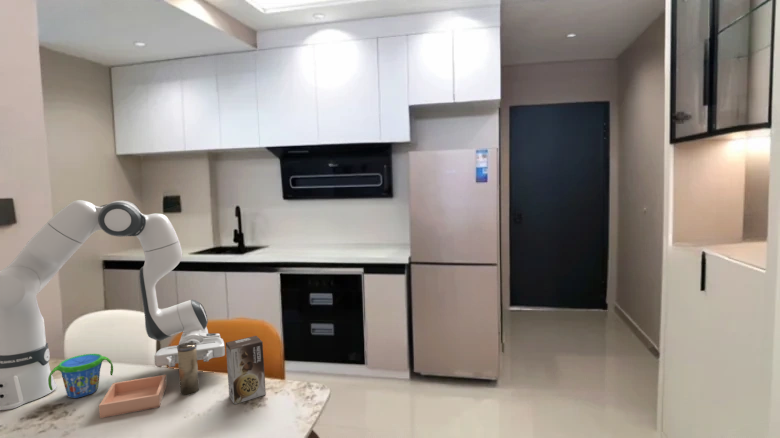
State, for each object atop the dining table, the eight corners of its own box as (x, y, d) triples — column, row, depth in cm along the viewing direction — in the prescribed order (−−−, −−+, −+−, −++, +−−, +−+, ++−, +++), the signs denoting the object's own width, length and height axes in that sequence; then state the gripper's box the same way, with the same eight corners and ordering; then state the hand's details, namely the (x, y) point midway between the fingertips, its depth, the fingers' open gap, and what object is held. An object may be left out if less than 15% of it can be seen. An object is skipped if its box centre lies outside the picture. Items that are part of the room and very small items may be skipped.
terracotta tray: (99, 418, 110) (98, 405, 110) (113, 394, 123) (113, 383, 123) (159, 407, 115) (158, 394, 115) (166, 385, 128) (166, 374, 128)
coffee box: (259, 386, 126) (257, 334, 125) (266, 395, 120) (263, 341, 119) (228, 396, 121) (225, 341, 119) (233, 405, 115) (230, 348, 114)
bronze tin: (179, 396, 121) (176, 350, 120) (181, 388, 126) (178, 343, 125) (198, 393, 123) (195, 347, 122) (199, 385, 128) (197, 341, 127)
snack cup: (114, 379, 133) (112, 348, 133) (114, 392, 125) (111, 359, 124) (52, 393, 125) (49, 360, 124) (47, 408, 116) (44, 373, 115)
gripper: (157, 341, 135) (149, 357, 122) (224, 332, 142) (224, 346, 129) (158, 360, 135) (150, 378, 123) (225, 350, 143) (225, 366, 130)
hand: (189, 361), depth 126 cm, fingers open, 8 cm apart
